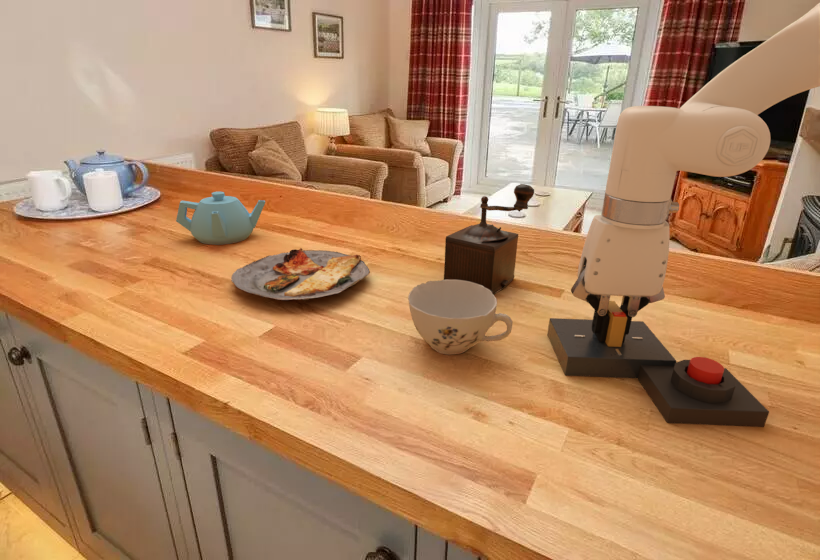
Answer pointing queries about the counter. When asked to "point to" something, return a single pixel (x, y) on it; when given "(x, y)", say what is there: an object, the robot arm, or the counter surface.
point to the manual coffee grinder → (485, 248)
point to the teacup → (455, 314)
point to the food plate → (300, 274)
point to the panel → (605, 350)
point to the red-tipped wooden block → (615, 325)
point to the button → (705, 370)
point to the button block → (700, 398)
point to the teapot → (219, 219)
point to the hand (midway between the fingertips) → (608, 336)
